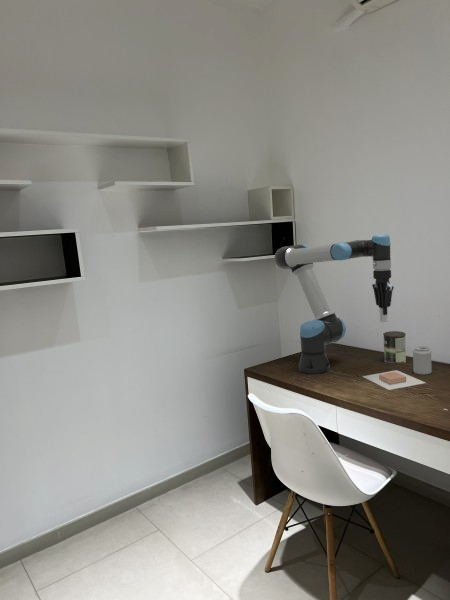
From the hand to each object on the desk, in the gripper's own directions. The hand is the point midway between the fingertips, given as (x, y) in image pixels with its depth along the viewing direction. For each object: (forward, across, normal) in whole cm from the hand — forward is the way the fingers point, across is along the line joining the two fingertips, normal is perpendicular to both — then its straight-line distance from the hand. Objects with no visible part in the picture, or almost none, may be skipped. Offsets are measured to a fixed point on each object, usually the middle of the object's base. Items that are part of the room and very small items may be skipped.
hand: (383, 321), depth 208 cm
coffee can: (+25, -14, +15) cm, 32 cm away
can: (+25, +8, +14) cm, 29 cm away
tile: (+23, +7, -4) cm, 24 cm away
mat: (+24, +10, -3) cm, 27 cm away
